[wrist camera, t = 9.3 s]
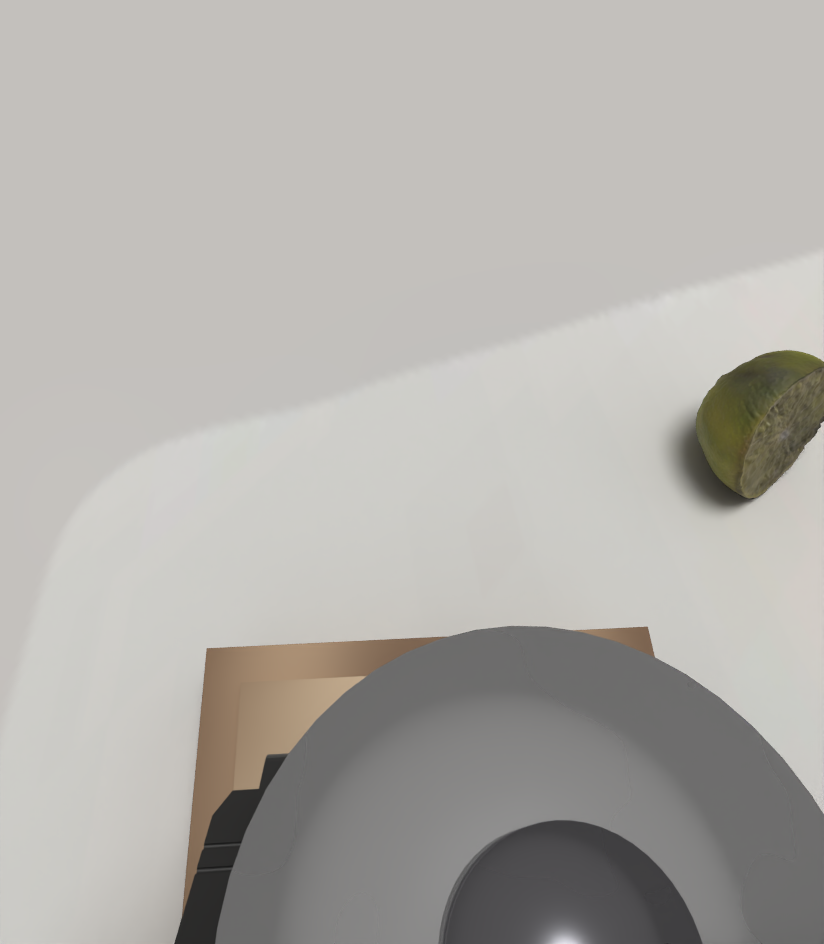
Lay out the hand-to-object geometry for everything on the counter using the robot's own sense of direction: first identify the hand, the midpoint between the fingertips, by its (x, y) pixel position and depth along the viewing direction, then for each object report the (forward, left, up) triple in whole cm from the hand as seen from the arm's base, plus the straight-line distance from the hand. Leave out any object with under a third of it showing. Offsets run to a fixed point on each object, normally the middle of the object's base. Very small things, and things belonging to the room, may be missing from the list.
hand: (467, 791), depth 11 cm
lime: (-12, -11, -9) cm, 19 cm away
